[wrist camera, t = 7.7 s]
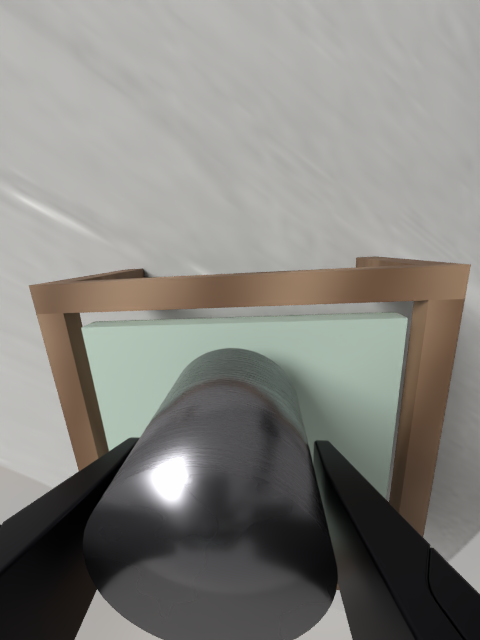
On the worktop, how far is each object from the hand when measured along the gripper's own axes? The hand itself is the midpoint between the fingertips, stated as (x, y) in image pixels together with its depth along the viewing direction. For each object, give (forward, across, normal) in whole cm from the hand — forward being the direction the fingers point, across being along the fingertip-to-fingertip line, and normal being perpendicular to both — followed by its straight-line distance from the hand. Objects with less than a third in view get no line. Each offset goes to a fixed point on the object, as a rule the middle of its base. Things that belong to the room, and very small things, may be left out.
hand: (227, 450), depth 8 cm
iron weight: (+2, 0, 0) cm, 2 cm away
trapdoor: (+5, 0, +4) cm, 6 cm away
